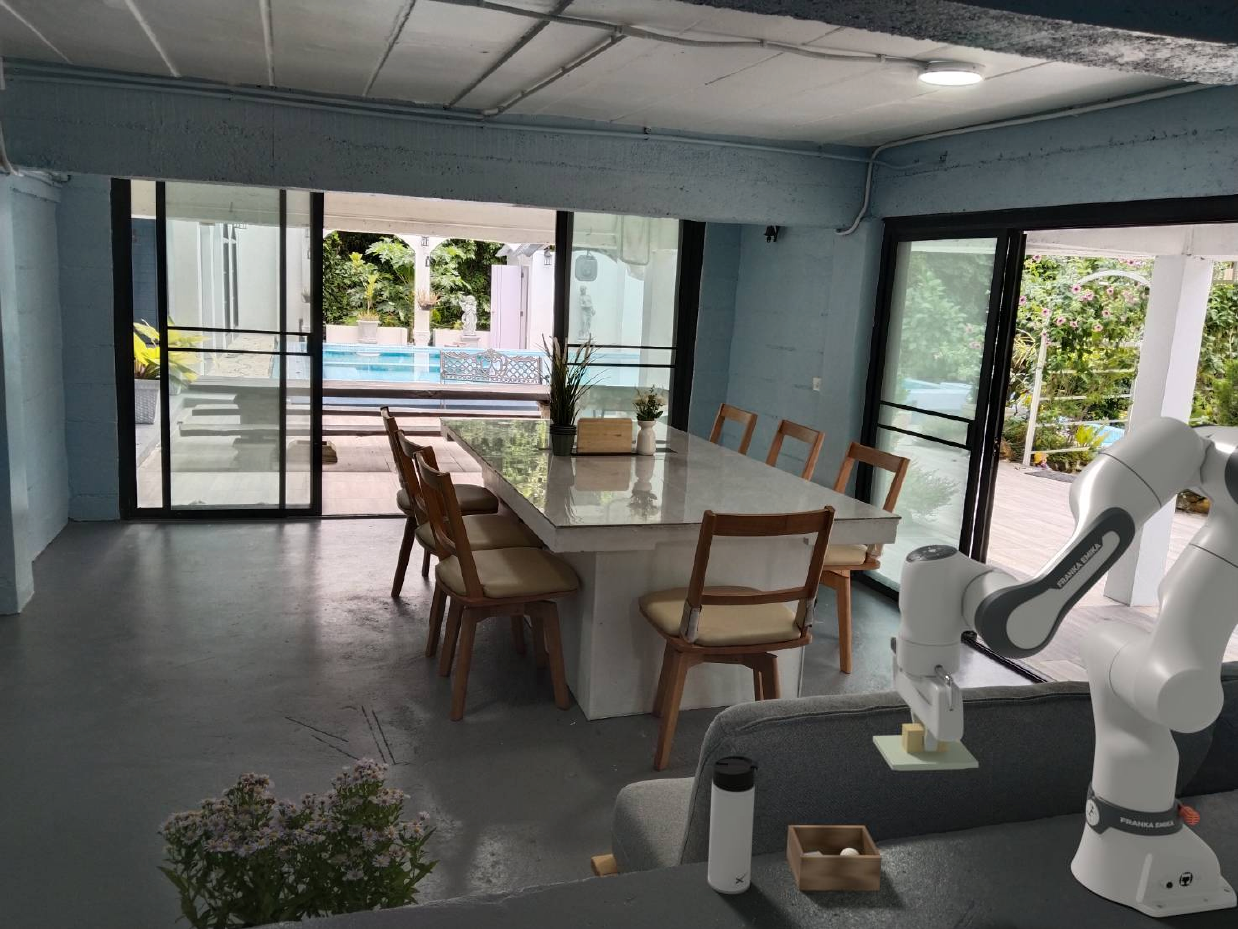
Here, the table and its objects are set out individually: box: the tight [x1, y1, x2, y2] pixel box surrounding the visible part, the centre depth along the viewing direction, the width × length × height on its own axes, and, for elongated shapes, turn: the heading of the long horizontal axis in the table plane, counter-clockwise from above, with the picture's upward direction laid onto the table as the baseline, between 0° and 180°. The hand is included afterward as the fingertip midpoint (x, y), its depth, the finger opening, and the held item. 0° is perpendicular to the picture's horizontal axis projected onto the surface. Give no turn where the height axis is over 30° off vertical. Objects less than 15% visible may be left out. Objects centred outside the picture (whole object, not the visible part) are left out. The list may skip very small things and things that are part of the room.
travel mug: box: [707, 755, 759, 895], centre depth 144 cm, size 6×7×20 cm
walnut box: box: [786, 824, 883, 891], centre depth 148 cm, size 12×9×6 cm
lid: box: [872, 723, 979, 772], centre depth 146 cm, size 13×10×5 cm
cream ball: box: [840, 848, 859, 855], centre depth 149 cm, size 3×3×3 cm
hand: (924, 743), depth 146 cm, fingers closed on lid, 2 cm apart
